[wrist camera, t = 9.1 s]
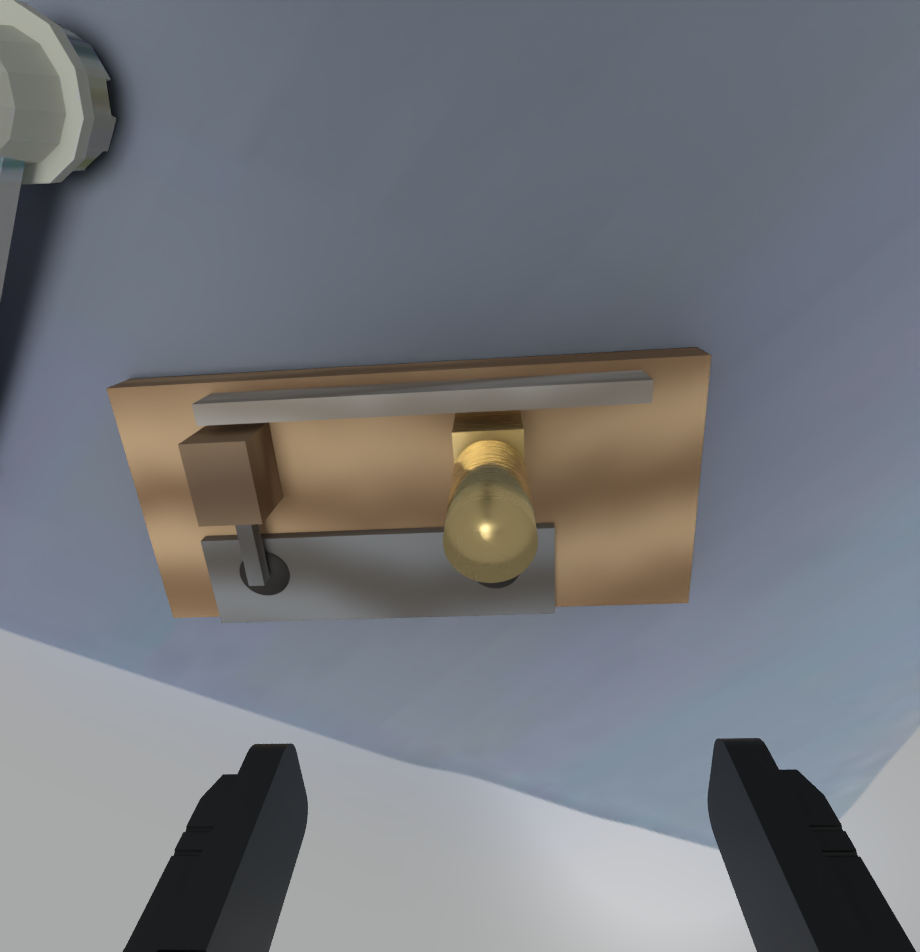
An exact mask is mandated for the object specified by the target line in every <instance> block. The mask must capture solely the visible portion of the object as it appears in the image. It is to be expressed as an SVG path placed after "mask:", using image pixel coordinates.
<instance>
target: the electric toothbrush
mask: <svg viewBox="0 0 920 952" xmlns="http://www.w3.org/2000/svg"><path fill="white" fill-rule="evenodd" d="M109 80H111V79H110V77H109V76H108V74H107V72H106V70H105V69H104V67H103V65H102V63H101V62H100V60H99V58H98V56H97V55H96V53H95V51H94V49H93V48H92V46H91V45H90V44H89V43H87V42H86V41H84V40H83V39H81V38H80V37H78V36H77V35H75V34H74V33H72V32H71V31H69V30H68V29H66V28H65V27H63V26H60V25H57V24H56V23H54V22H53V21H51V20H50V19H49V18H47V17H46V16H44V15H43V14H41V13H40V12H38V11H37V10H35V9H34V8H32V7H31V6H29V5H28V4H26V3H24V2H20V1H16V0H0V301H1V295H2V289H3V284H4V278H5V272H6V267H7V261H8V255H9V250H10V244H11V238H12V233H13V227H14V221H15V216H16V210H17V204H18V199H19V193H20V187H21V185H24V184H44V183H59V182H62V181H63V180H64V179H65V178H66V177H67V176H68V175H69V174H70V173H71V172H72V171H84V170H86V169H85V168H86V167H87V166H88V165H90V164H91V163H92V162H93V161H94V160H95V159H96V158H97V157H98V156H99V155H100V154H101V153H102V152H103V151H108V150H109V146H110V142H111V138H112V134H113V130H114V127H115V123H116V119H117V118H115V117H114V116H112V115H111V110H110V103H109V97H108V90H107V84H106V82H107V81H109Z"/></svg>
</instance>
